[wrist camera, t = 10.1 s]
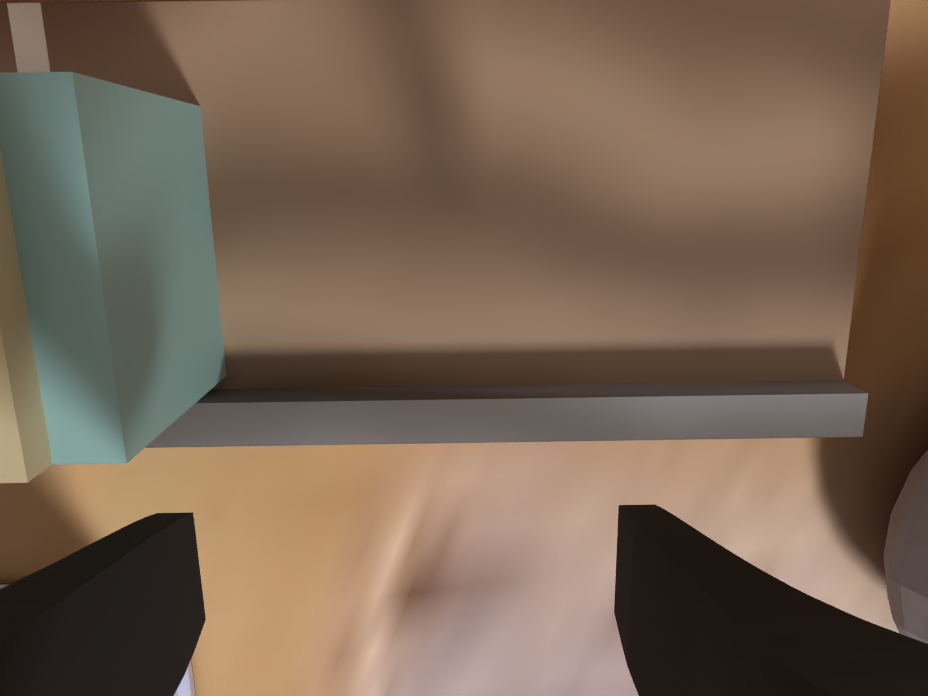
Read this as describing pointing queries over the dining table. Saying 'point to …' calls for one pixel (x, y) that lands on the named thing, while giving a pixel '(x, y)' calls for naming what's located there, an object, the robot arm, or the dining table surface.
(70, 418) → the teal and beige block
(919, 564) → the coffee pot
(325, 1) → the board
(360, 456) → the dining table surface
